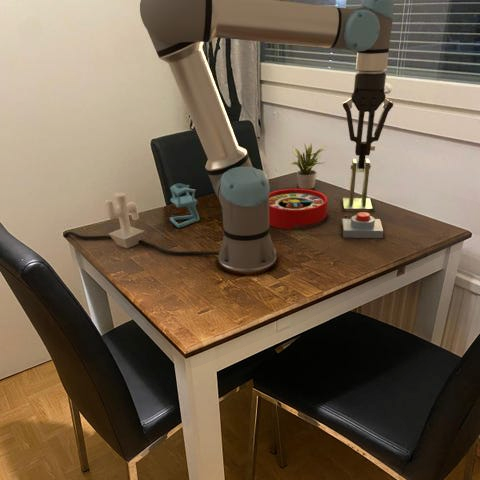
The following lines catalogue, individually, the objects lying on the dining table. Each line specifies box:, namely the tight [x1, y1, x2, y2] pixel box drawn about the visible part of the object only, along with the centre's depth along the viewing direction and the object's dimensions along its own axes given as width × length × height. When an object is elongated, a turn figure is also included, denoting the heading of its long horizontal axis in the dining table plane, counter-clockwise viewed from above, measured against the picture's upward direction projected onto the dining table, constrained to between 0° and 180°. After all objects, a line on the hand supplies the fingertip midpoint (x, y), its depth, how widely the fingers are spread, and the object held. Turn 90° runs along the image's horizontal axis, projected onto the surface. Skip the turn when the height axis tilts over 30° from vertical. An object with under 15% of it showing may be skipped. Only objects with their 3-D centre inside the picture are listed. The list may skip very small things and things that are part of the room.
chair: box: [169, 182, 200, 229], centre depth 153 cm, size 8×8×12 cm
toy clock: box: [269, 188, 328, 230], centre depth 154 cm, size 20×6×20 cm
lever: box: [354, 144, 376, 173], centre depth 149 cm, size 13×6×2 cm
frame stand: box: [342, 158, 373, 210], centre depth 157 cm, size 10×9×15 cm
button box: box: [341, 214, 384, 239], centre depth 143 cm, size 11×9×4 cm
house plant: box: [291, 143, 327, 190], centre depth 172 cm, size 14×14×16 cm
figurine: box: [105, 191, 145, 249], centre depth 139 cm, size 7×9×15 cm
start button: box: [356, 211, 371, 221], centre depth 141 cm, size 4×4×2 cm
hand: (361, 167), depth 135 cm, fingers closed
